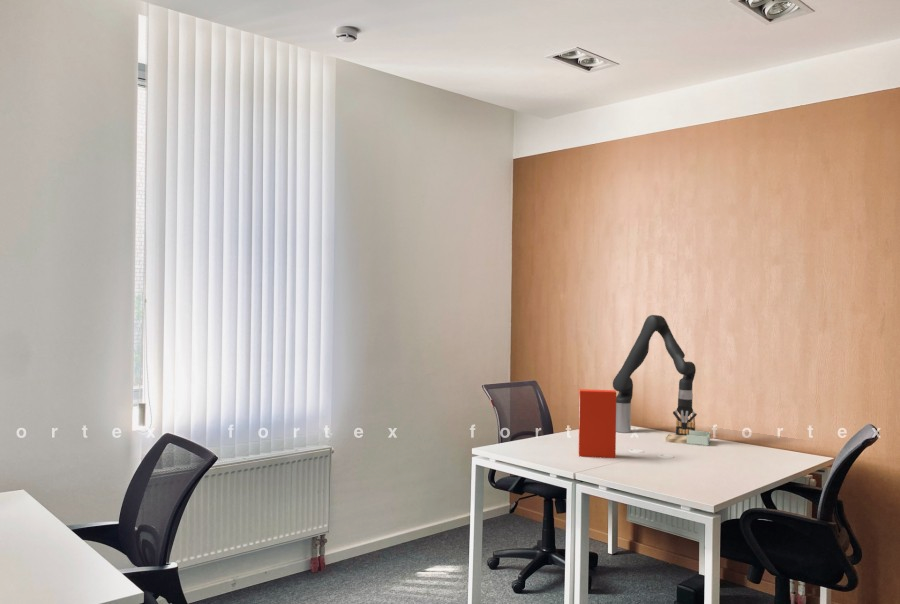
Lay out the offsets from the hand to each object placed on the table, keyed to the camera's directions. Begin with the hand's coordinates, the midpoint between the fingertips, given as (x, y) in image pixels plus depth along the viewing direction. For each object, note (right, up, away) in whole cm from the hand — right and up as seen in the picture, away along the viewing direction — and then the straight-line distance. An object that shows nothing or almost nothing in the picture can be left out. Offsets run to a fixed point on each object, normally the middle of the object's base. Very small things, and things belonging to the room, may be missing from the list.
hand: (684, 429), depth 365 cm
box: (+8, -7, 0) cm, 11 cm away
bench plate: (-2, -7, +4) cm, 9 cm away
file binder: (-57, -6, -39) cm, 69 cm away
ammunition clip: (+8, -8, +21) cm, 24 cm away
